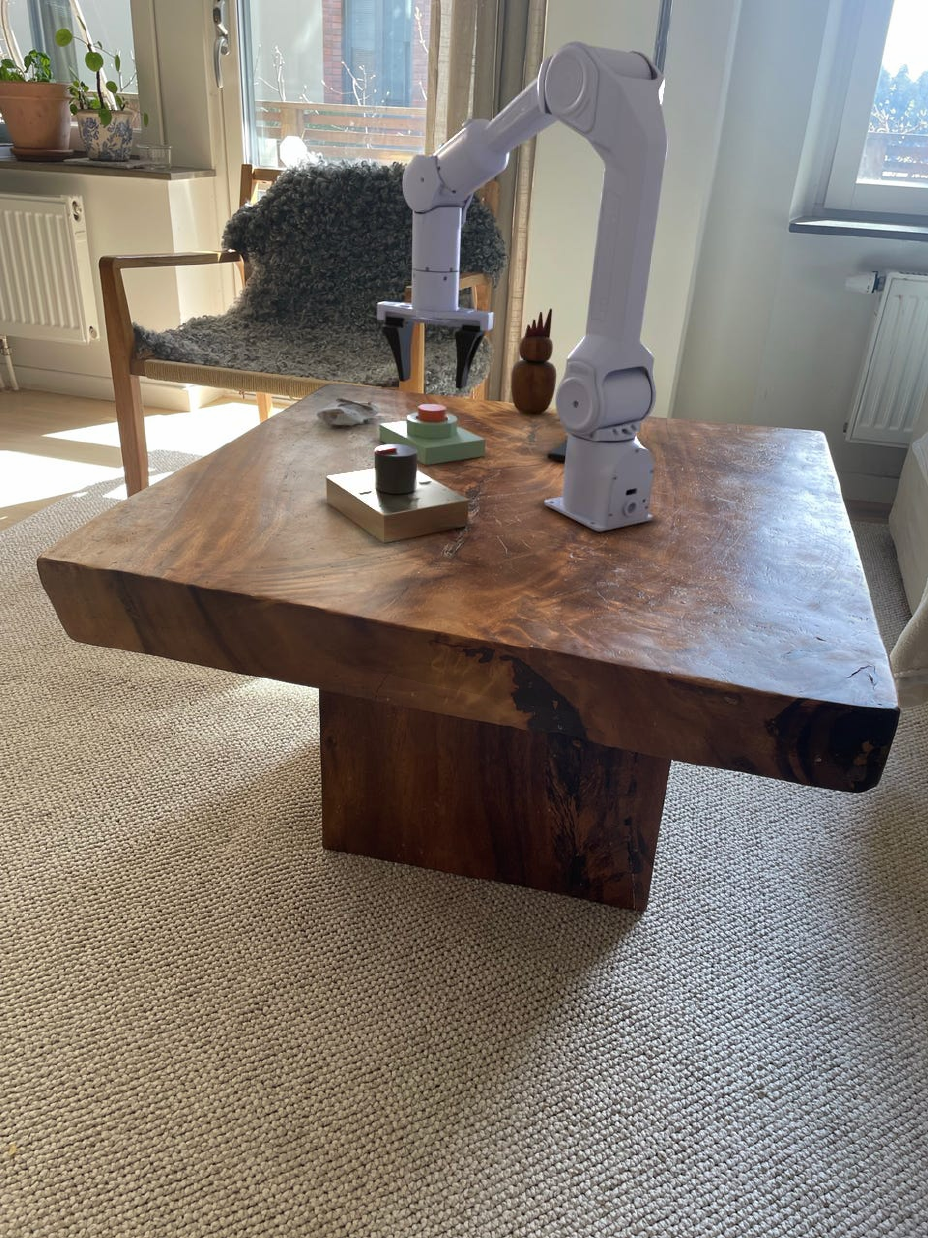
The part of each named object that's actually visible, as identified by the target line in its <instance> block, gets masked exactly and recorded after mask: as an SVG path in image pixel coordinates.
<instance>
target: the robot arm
mask: <svg viewBox="0 0 928 1238" xmlns="http://www.w3.org/2000/svg"><path fill="white" fill-rule="evenodd" d="M665 80H666V78H665V76H664V75H663V73H662V72H661V70H660V69H659V68H658V67H657V65H655V63H654V62H653V60H652V59H651V58H650V57H649V56H648V55H646V54H645V53H644V52H641V51H636V50H631V51H624V50H619V49H614V48H613V49H612V48H606V47H601V46H595V45H589V44H587V43H585V42H583V41H582V42H581V41H579V40H578V41H577V40H576V41H575V40H574V41H569V42H567V43H565V44H563V45H561V46H560V47H559V48H558V49H557V51H556V52H555V53H553V54H552V55H550V56H549V57H546V58H545V59H543V60H542V62H541V64H540V69H539V73H538V75H537V76H536V77H535V78H534V79H533V80H532V81H531V82H530V83H529V84H528V85H527V86H526V87H525V88H524V89H523V90H522V91H521V92H520V93H519V94H518V95H517V96H515V97H514V99H513V100H512V101H510V103H508V104H507V105H506V106H505V107H504V108H503V109H502V110H501V111H500V112H499V113H497V115H496V116H495V117H494V118H493V119H492V120H489V119H486V118H467V119H466V120H465V121H464V122H463V123H462V130H460V132H458V133H457V134H456V135H454V136H453V137H452V138H451V139H450V140H449V141H447V142H442V143H441V144H440V145H439V146H438V147H437V151H435V152H434V153H433V154H429V156H428V155H425V154H415V155H413V156H412V158H411V159H410V160H409V162H407V164H406V166H405V169H404V171H403V175H402V193H403V197H404V200H405V203H406V204H407V206H408V208H410V209H411V210H412V239H411V240H412V241H411V242H412V243H411V245H412V248H411V302H394V301H381V302H378V303H376V319H377V320H379V321H384V323H383V324H382V325H381V331H382V334H383V336H384V337H385V339H386V342H387V343H388V345H389V347H390V351H391V352H392V356H393V359H394V362H395V366H396V370H397V375H398V381H399V382H401V383H402V382H403V383H405V382H407V381H408V380H411V373H412V343H413V333H414V327H415V323H416V324H418V323H419V324H426V325H427V324H428V325H437V326H446V327H456V328H461V329H458V330H456V331H455V332H454V338H455V348H456V371H455V389H460V390H462V389H463V388H465V387H466V386H467V382H468V377H469V374H470V370H471V367H472V364H473V361H474V359H475V357H476V355H477V353H478V350H479V348H480V345H481V343H482V341H483V340H484V338H485V337H486V333H487V332H489V331H490V330H492V329H493V327H494V311H484V310H477V309H472V308H467V307H460V306H459V291H460V290H459V289H460V264H461V241H462V240H461V239H462V228H464V227H465V224H466V222H467V221H466V219H467V212H468V211H467V210H468V208H469V206H470V205H471V202H472V201H473V198H474V192H476V191H478V190H479V189H480V188H482V186H485V184H488V183H489V181H491V180H492V179H493V178H496V177H497V176H498V175H499V174H501V173H502V172H503V171H504V170H506V168H507V166H508V164H509V161H510V153H511V151H513V150H514V149H516V148H518V147H520V145H522V144H524V143H526V142H527V141H529V140H531V138H533V137H535V136H536V135H538V134H539V133H540V132H543V131H544V130H546V129H547V128H548V127H550V126H552V125H553V124H555V123H556V122H558V121H559V122H560V123H562V124H563V125H565V126H566V127H568V128H569V129H570V130H572V131H574V132H575V133H577V134H578V135H580V136H581V137H583V138H585V139H586V140H587V141H588V142H589V144H590V145H591V147H592V148H593V149H594V151H595V152H596V153H597V154H598V156H599V157H600V158H601V160H602V161H603V163H604V170H603V177H602V187H601V195H600V204H599V212H598V221H597V229H596V239H595V247H594V255H593V263H592V264H593V265H592V274H591V282H590V291H589V298H588V309H587V317H586V323H585V324H586V325H585V334H584V336H583V338H582V339H581V340H580V342H579V343H578V344H577V345H576V346H575V348H574V349H573V350H572V351H571V353H570V354H569V355H568V356H567V358H566V364H565V371H564V374H563V377H562V379H561V381H560V382H559V384H558V386H557V389H556V392H555V409H556V410H555V411H556V413H557V414H556V415H557V416H558V419H559V421H560V423H561V424H562V426H563V427H564V428H563V429H564V430H563V432H564V433H567V439H566V440H567V449H566V459H565V462H564V469H563V470H564V471H563V482H562V490H561V496H560V497H553V498H549V499H548V498H547V499H544V503H543V504H544V505H545V506H546V507H548V508H550V509H552V510H554V511H555V512H558V513H560V514H562V515H564V516H566V517H568V518H569V519H572V520H574V521H575V522H578V523H580V524H582V525H584V526H586V527H587V528H589V529H591V530H593V531H595V532H605V531H611V530H614V529H619V528H623V527H628V526H631V525H632V526H633V525H636V524H640V523H645V522H650V521H653V520H654V519H653V518H654V516H653V515H652V514H650V513H649V509H650V502H651V496H652V488H653V482H654V477H655V476H654V475H655V460H654V456H653V454H652V453H651V451H650V450H649V449H647V448H646V447H645V446H643V445H642V444H641V442H640V441H639V439H638V436H637V434H638V432H641V429H642V428H641V427H642V422H643V421H644V420H645V419H647V418H648V417H649V416H650V415H651V413H652V412H653V410H654V408H655V405H656V401H657V387H656V382H655V379H654V364H655V356H654V355H653V353H652V352H650V349H648V348H647V347H646V346H645V345H644V344H643V342H642V341H641V334H642V328H643V322H644V314H645V306H646V299H647V293H648V292H647V291H648V286H649V278H650V272H651V265H652V258H653V253H654V252H653V251H654V245H655V244H654V243H655V236H656V229H657V223H658V217H659V216H658V215H659V210H660V209H659V208H660V202H661V196H662V188H663V182H664V175H665V168H666V161H667V153H668V142H669V141H668V134H667V133H668V132H667V127H666V122H665V117H664V112H663V106H662V103H663V96H664V95H663V94H664V88H665V82H666V81H665Z"/></svg>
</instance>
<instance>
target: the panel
mask: <svg viewBox="0 0 928 1238" xmlns="http://www.w3.org/2000/svg"><path fill="white" fill-rule="evenodd" d="M325 490H326V503H327V504H329V506H331V507H333V508H334V509H336V511H338V512H340V513H341V514H343V515H344V516H345V517H346V518H348V519H349V520H350V521H352V522H354V523H355V524H356V525H358V526H359V527H360V528H362V529H363V530H365V532H367V533H369V534H370V535H372V536H373V537H374V538H376V539H377V540H378V541H380V542H382V543H383V544H386V543H391V542H396V541H400V540H407V539H411V538H416V537H422V536H426V535H431V534H435V533H436V534H437V533H441V532H445V531H450V530H455V529H461V528H466V527H468V522H469V502H470V499H468V498H467V497H465V496H464V495H462V494H460V493H458V492H456V491H455V490H453V489H451V488H449V487H447V486H446V485H444V484H442V483H441V482H439V481H437V480H435V479H434V478H432V477H430V476H428V475H426V474H425V473H423V472H421V471H419V470H417V487H416V489H415V490H414V491H412V492H408V493H402V494H391V493H385V492H381V491H379V490H377V489H376V488H375V468H371V469H365V470H359V471H351V472H345V473H339V474H332V475H326V476H325Z"/></svg>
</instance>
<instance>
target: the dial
mask: <svg viewBox="0 0 928 1238" xmlns="http://www.w3.org/2000/svg"><path fill="white" fill-rule="evenodd" d="M374 469H375V488H376V489H377V490H379V491H381V492H385V493H391V494H402V493H408V492H412V491H414V490H415V489H416V487H417V471H418V461H417V449H416V448H414V447H411V446H408V445H402V444H382V445H379V446H376V447H375V449H374Z"/></svg>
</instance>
